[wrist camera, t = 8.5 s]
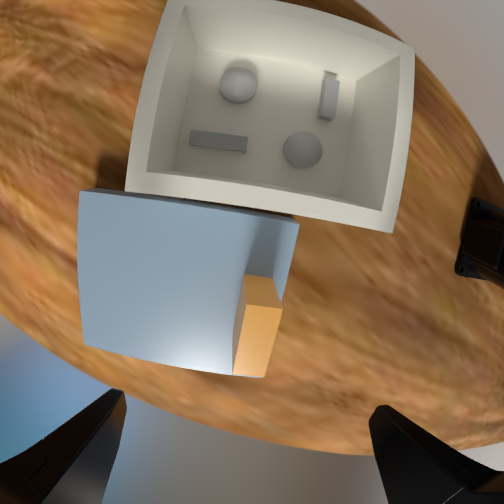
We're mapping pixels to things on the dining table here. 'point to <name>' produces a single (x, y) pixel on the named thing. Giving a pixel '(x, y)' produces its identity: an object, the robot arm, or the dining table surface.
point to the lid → (182, 280)
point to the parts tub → (274, 112)
